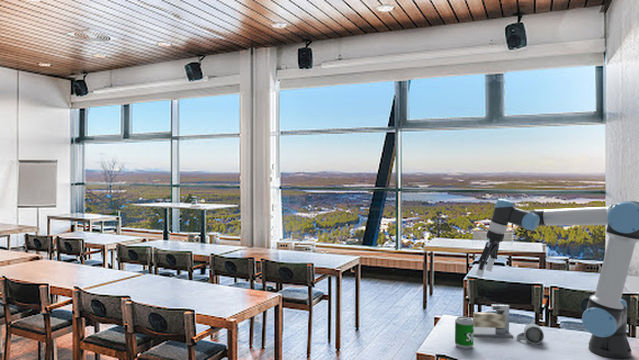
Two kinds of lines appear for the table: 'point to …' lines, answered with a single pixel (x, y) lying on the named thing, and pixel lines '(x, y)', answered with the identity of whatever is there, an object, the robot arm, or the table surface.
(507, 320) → the block
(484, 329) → the board
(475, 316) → the lever link
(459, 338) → the soda can
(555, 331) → the table surface
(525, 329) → the ceramic mug
